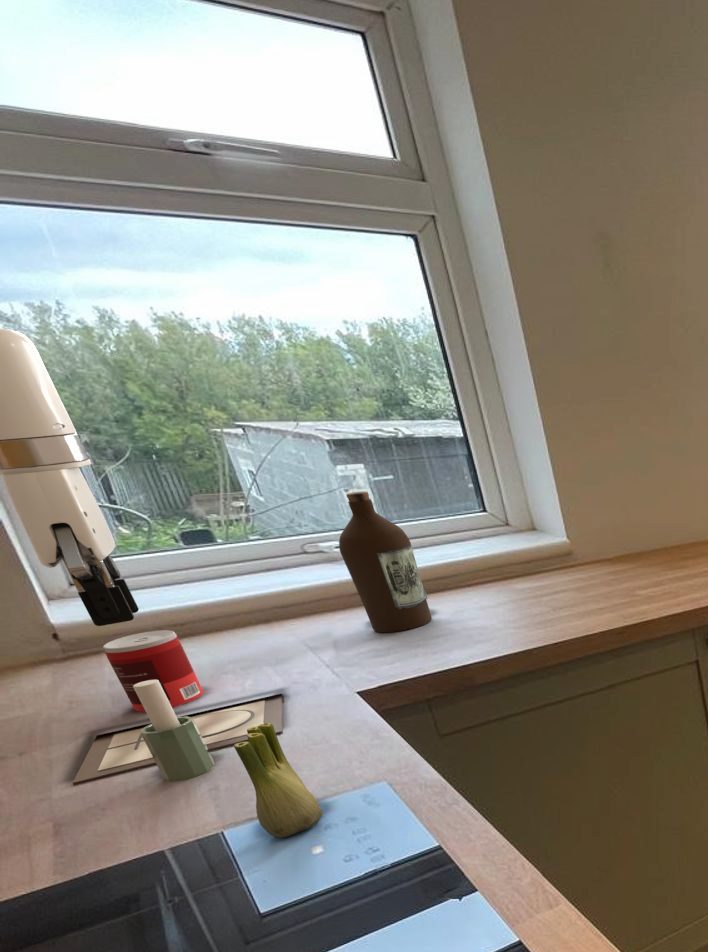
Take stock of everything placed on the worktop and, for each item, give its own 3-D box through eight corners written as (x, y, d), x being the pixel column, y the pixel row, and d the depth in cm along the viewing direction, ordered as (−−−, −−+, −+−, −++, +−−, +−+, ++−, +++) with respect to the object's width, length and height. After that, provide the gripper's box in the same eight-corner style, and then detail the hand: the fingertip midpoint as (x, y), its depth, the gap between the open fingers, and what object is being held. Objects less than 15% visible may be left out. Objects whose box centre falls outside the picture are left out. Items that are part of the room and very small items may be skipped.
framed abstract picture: (75, 788, 99) (70, 781, 98) (99, 740, 112) (95, 733, 111) (284, 736, 110) (281, 729, 110) (283, 697, 123) (281, 691, 123)
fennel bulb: (289, 846, 85) (241, 744, 80) (250, 843, 86) (201, 742, 81) (339, 815, 90) (297, 718, 85) (302, 813, 91) (259, 717, 86)
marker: (177, 777, 99) (131, 688, 94) (179, 771, 101) (133, 683, 96) (201, 771, 100) (157, 682, 96) (202, 765, 102) (159, 677, 97)
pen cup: (165, 788, 98) (138, 736, 95) (168, 774, 101) (142, 724, 98) (215, 775, 100) (190, 724, 98) (217, 762, 104) (193, 713, 101)
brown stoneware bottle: (355, 633, 151) (304, 498, 141) (403, 615, 161) (358, 487, 151) (403, 634, 149) (354, 498, 139) (449, 616, 159) (406, 487, 149)
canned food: (206, 692, 126) (174, 626, 122) (208, 706, 121) (175, 637, 117) (138, 708, 122) (102, 640, 117) (137, 723, 116) (100, 652, 112)
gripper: (2, 454, 90) (84, 611, 97) (-40, 466, 78) (57, 644, 85) (97, 446, 94) (169, 597, 102) (71, 456, 82) (154, 626, 90)
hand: (117, 617), depth 93 cm, fingers open, 3 cm apart
